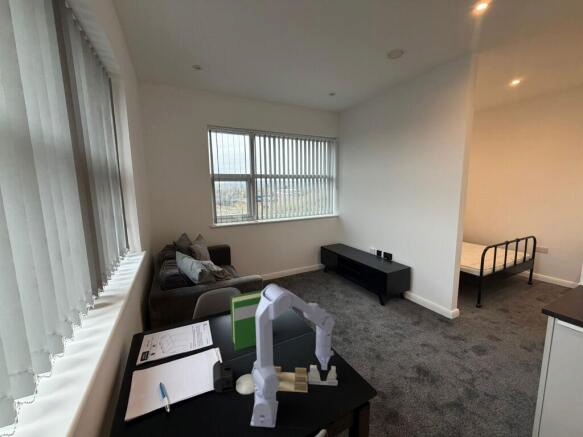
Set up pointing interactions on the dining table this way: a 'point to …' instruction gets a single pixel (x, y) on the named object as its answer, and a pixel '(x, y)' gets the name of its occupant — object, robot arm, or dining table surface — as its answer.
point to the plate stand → (328, 382)
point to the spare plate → (245, 384)
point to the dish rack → (292, 380)
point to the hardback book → (244, 319)
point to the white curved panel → (315, 375)
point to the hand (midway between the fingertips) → (322, 372)
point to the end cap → (222, 376)
